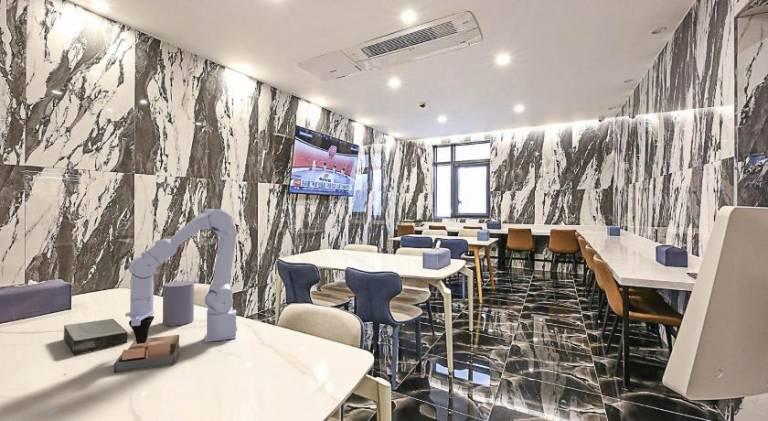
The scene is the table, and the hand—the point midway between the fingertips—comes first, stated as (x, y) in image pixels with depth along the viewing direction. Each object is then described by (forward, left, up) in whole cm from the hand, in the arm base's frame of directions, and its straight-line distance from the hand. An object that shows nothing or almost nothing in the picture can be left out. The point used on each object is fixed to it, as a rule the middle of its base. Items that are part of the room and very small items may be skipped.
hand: (141, 342), depth 105 cm
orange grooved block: (-3, -2, -4) cm, 5 cm away
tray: (-3, +6, -4) cm, 8 cm away
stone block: (+17, -19, -4) cm, 26 cm away
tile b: (0, +6, 0) cm, 6 cm away
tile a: (-6, +5, -1) cm, 8 cm away
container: (-6, -31, -4) cm, 32 cm away
